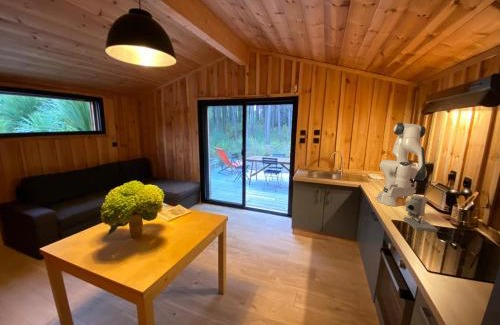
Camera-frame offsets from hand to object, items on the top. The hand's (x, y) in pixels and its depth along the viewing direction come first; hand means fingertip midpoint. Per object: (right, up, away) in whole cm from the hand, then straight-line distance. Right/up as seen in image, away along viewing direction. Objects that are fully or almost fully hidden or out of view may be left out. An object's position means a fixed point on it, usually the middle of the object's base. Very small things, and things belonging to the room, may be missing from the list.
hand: (399, 201), depth 163 cm
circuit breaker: (+16, -13, +7) cm, 22 cm away
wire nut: (0, -2, 0) cm, 2 cm away
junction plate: (+8, -15, -9) cm, 19 cm away
